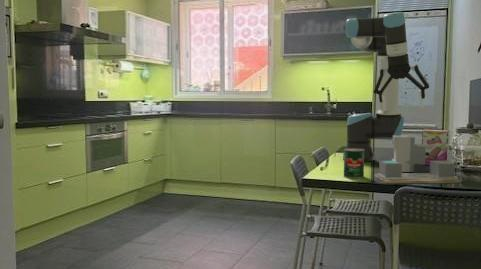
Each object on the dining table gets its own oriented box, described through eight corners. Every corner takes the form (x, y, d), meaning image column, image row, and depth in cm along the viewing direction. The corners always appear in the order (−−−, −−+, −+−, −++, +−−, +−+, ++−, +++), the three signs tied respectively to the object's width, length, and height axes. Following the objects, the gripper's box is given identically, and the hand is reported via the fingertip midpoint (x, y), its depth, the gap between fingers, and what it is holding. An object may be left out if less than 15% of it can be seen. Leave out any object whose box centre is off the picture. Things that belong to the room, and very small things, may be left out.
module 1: (379, 173, 185) (379, 160, 185) (394, 173, 185) (394, 160, 185) (385, 177, 177) (385, 163, 177) (401, 177, 177) (401, 163, 177)
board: (374, 176, 188) (374, 174, 188) (444, 176, 188) (444, 173, 188) (385, 183, 174) (385, 180, 174) (460, 182, 174) (460, 180, 174)
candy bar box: (420, 165, 217) (421, 130, 216) (423, 164, 222) (424, 129, 220) (446, 167, 211) (448, 131, 210) (448, 166, 215) (450, 130, 214)
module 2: (429, 173, 185) (430, 160, 185) (445, 173, 185) (445, 160, 185) (438, 176, 177) (438, 163, 177) (454, 176, 177) (454, 163, 177)
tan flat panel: (375, 175, 186) (375, 173, 186) (446, 174, 186) (446, 172, 186) (383, 179, 176) (383, 177, 176) (458, 179, 176) (458, 177, 176)
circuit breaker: (429, 173, 196) (430, 137, 195) (393, 172, 199) (394, 136, 198) (425, 170, 204) (426, 135, 202) (391, 169, 206) (392, 135, 205)
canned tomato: (349, 178, 184) (350, 150, 183) (340, 175, 192) (340, 148, 191) (367, 177, 187) (368, 150, 186) (357, 174, 194) (357, 147, 193)
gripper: (362, 60, 180) (368, 113, 185) (432, 51, 170) (437, 108, 175) (365, 57, 187) (371, 108, 192) (433, 48, 176) (437, 103, 181)
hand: (402, 108), depth 183 cm, fingers open, 13 cm apart
